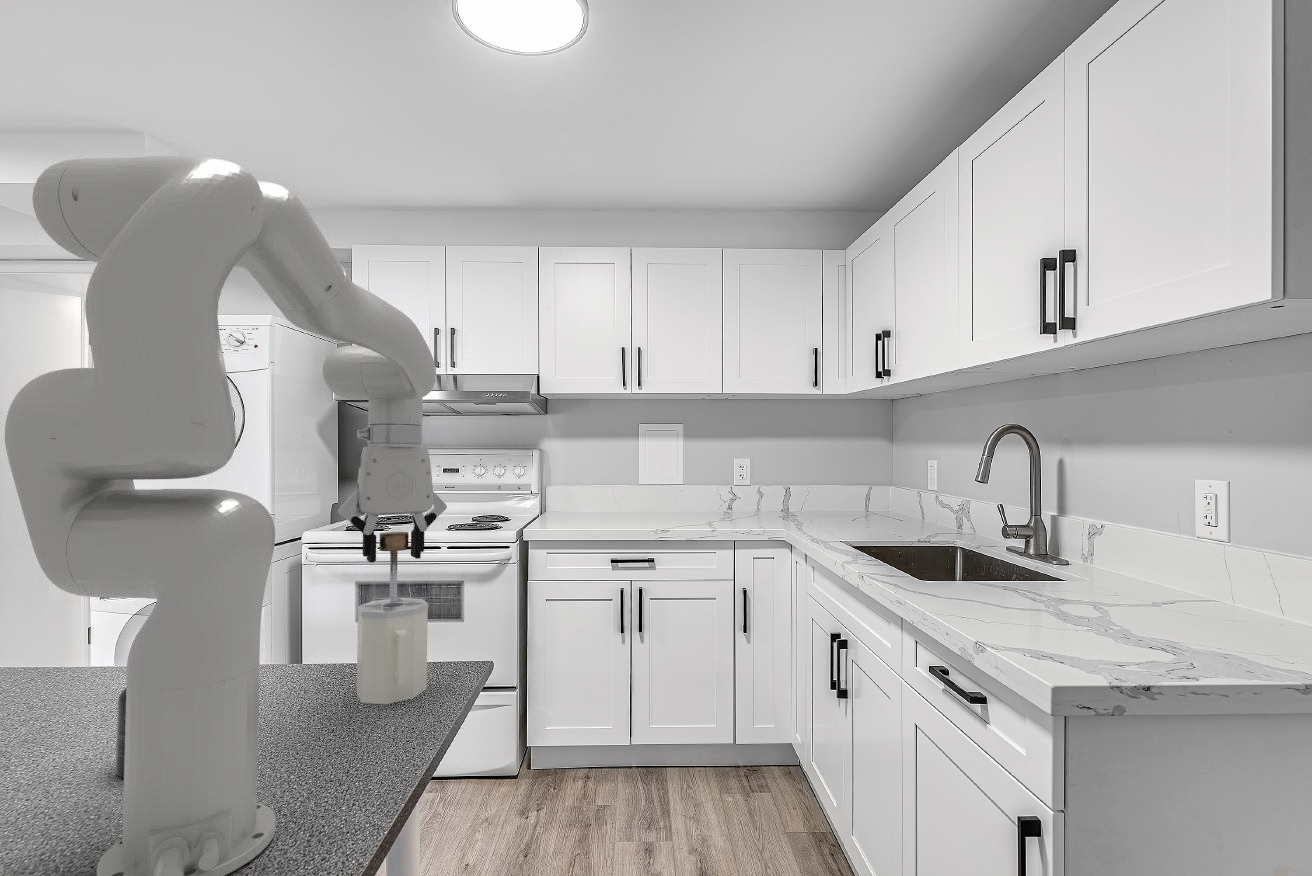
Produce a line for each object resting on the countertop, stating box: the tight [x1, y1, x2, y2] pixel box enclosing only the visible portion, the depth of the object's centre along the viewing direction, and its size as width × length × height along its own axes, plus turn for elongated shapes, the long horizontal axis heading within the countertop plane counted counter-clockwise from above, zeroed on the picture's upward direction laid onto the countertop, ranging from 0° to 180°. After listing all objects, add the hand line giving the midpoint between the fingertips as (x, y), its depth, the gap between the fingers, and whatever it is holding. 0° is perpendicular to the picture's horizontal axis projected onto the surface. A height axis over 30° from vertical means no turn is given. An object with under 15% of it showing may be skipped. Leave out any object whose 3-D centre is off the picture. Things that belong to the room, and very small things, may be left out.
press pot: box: [356, 597, 429, 705], centre depth 93 cm, size 12×9×13 cm
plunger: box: [378, 531, 410, 607], centre depth 95 cm, size 4×4×17 cm
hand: (393, 558), depth 95 cm, fingers open, 5 cm apart
